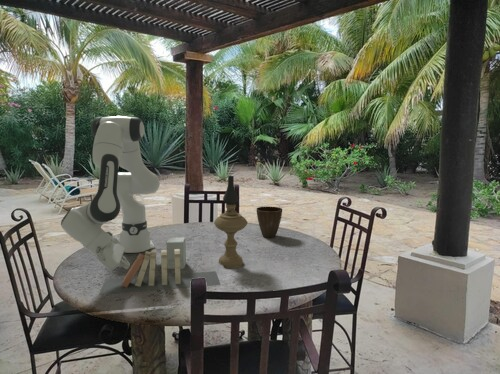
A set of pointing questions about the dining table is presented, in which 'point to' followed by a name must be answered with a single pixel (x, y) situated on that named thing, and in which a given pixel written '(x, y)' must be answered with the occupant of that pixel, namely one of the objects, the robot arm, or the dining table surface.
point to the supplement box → (171, 245)
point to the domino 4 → (164, 266)
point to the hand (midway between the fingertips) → (128, 266)
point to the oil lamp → (230, 227)
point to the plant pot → (269, 220)
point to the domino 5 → (177, 266)
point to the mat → (156, 283)
